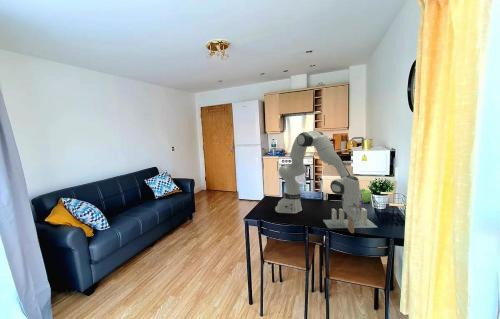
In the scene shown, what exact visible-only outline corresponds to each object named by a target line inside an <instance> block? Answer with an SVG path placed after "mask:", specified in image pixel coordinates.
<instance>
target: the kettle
mask: <svg viewBox="0 0 500 319" xmlns="http://www.w3.org/2000/svg"><path fill="white" fill-rule="evenodd" d="M361 189H362V204H366V203H368V202H369V203H370V202H372V200H371V192H370V191H371V190H367V189H365V188H361Z"/></svg>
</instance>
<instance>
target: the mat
mask: <svg viewBox="0 0 500 319" xmlns="http://www.w3.org/2000/svg"><path fill="white" fill-rule="evenodd" d="M322 221H323V223H324V224H325V225H326V227H327V228H328V229H348V220H347V218H346V219H345V218H344V225H341V224H340V223H339V219H337V225H333V223H332V219H323V220H322ZM358 228H359V229H360V228H361V229H363V228H364V229H366V228H378V226H377V225H376V224H375V223H374V222H372V221H371V220H370V219H369V218H367V225H364V224H363V223H362V222H361V220H360V221H359V225H356V224H355V225H354V229H358Z"/></svg>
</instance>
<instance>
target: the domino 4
mask: <svg viewBox="0 0 500 319" xmlns="http://www.w3.org/2000/svg"><path fill="white" fill-rule="evenodd" d="M360 212H361V222H362V223H363V224H364V225H367V219H368V210H367V209H366V208H365V207H362V208H361V209H360Z"/></svg>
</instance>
